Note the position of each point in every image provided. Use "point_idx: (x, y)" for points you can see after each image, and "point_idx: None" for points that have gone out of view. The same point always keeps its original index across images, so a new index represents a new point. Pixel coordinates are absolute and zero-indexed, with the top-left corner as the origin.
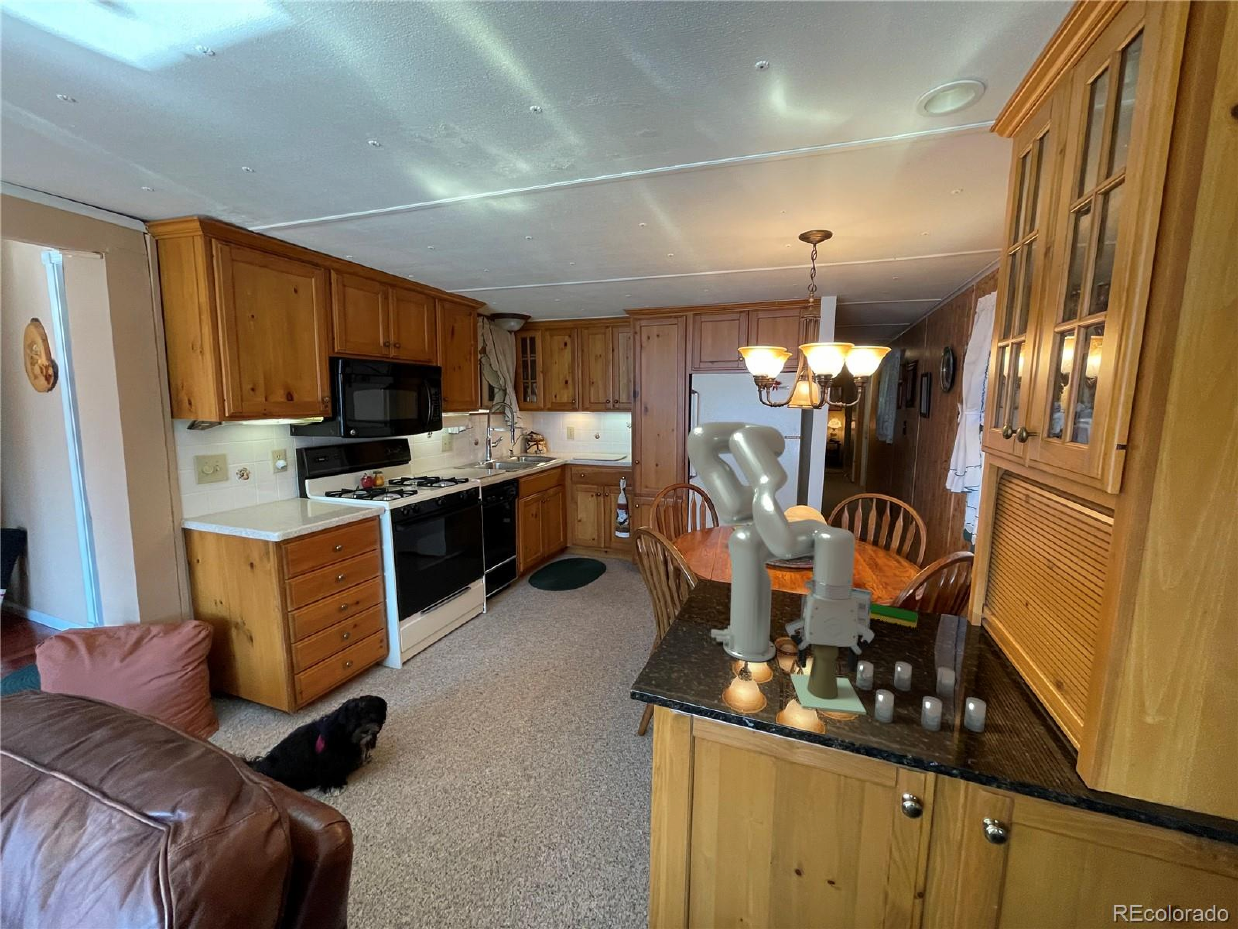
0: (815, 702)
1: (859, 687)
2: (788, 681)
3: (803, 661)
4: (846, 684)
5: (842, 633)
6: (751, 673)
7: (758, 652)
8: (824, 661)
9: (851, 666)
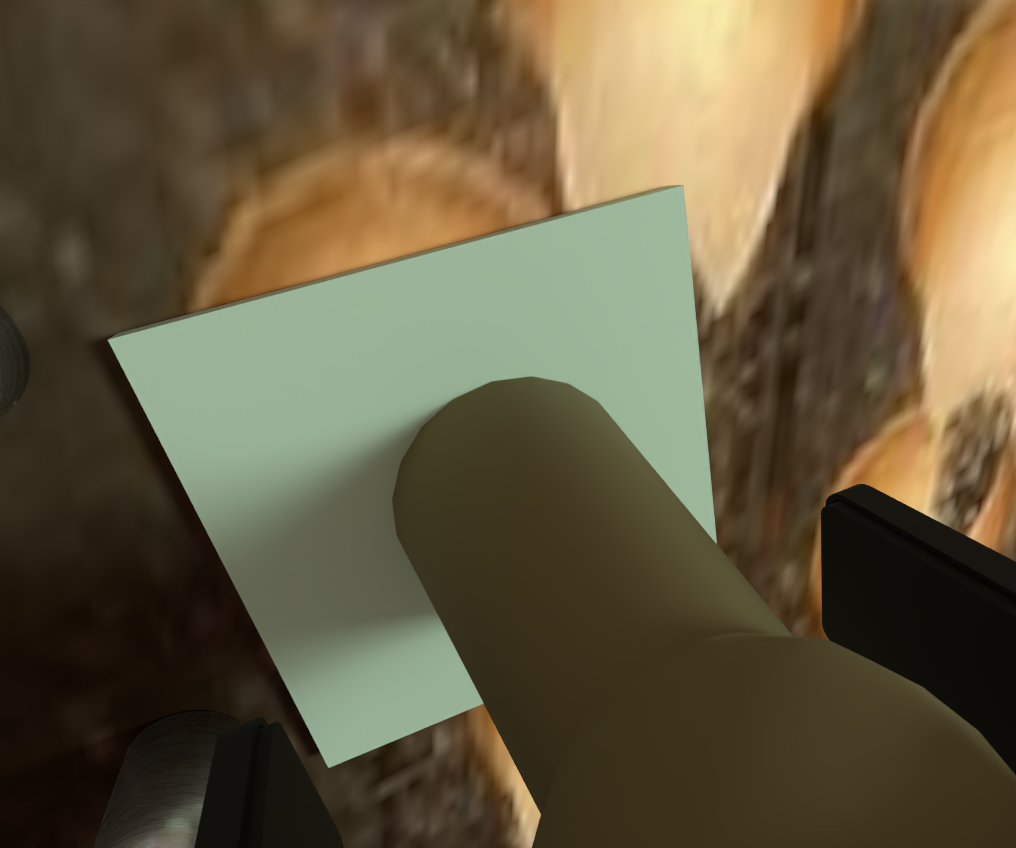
0: (576, 294)
1: (226, 719)
2: (729, 524)
3: (937, 523)
4: (331, 687)
5: None
6: (933, 495)
7: None
8: (711, 634)
9: (271, 794)
